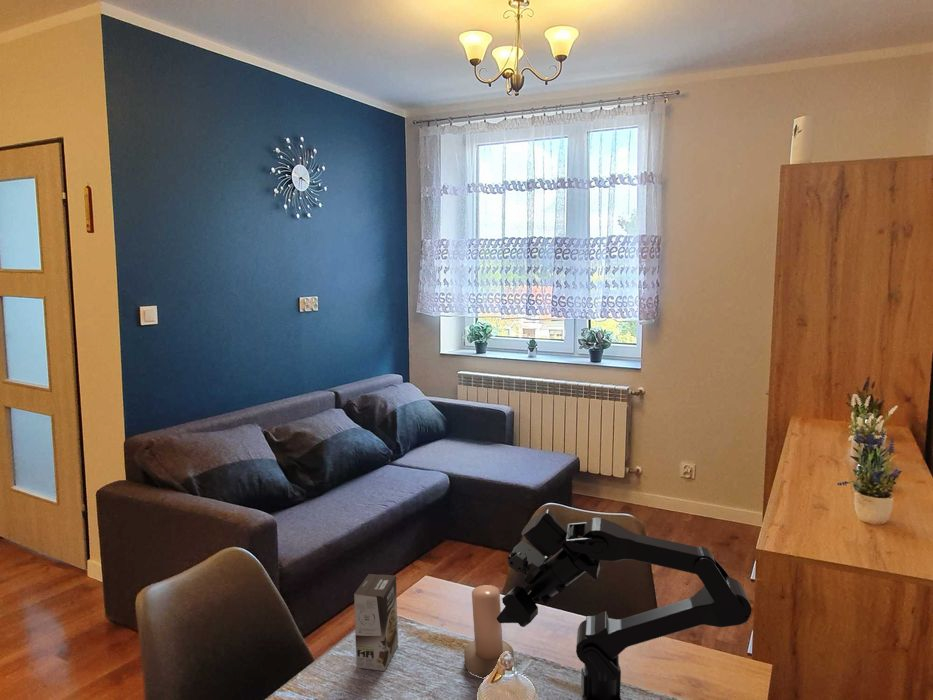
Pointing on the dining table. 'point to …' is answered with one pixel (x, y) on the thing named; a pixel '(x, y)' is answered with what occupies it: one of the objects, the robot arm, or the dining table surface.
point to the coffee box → (376, 621)
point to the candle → (487, 622)
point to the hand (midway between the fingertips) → (508, 609)
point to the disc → (481, 660)
